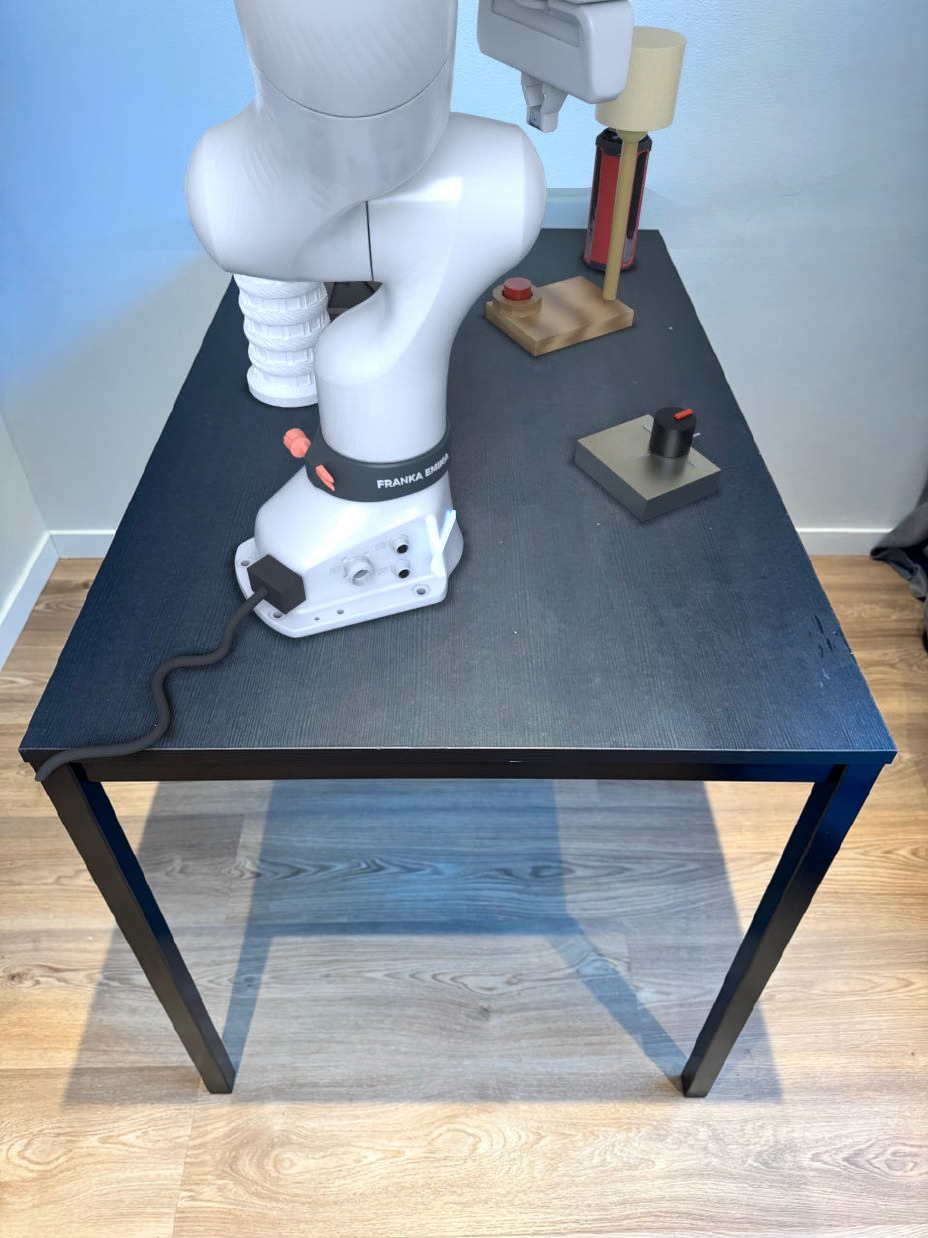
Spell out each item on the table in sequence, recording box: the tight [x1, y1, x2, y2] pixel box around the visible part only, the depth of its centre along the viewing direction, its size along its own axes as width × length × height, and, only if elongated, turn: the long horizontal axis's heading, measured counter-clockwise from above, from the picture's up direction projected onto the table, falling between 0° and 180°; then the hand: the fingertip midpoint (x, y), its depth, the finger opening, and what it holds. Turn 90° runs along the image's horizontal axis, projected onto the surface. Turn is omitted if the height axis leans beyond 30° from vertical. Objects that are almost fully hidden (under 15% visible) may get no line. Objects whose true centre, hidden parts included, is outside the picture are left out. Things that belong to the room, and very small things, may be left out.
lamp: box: [594, 25, 688, 300], centre depth 106 cm, size 9×9×30 cm
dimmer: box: [574, 413, 722, 523], centre depth 95 cm, size 12×12×3 cm
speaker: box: [582, 127, 653, 272], centre depth 126 cm, size 8×8×18 cm
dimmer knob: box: [649, 406, 698, 458], centre depth 93 cm, size 4×4×4 cm
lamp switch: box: [503, 276, 532, 301], centre depth 116 cm, size 4×4×2 cm
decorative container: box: [233, 273, 331, 408], centre depth 102 cm, size 12×12×18 cm
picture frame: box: [324, 277, 383, 323], centre depth 124 cm, size 16×2×21 cm
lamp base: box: [485, 275, 635, 357], centre depth 118 cm, size 16×12×4 cm
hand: (541, 127), depth 87 cm, fingers closed
